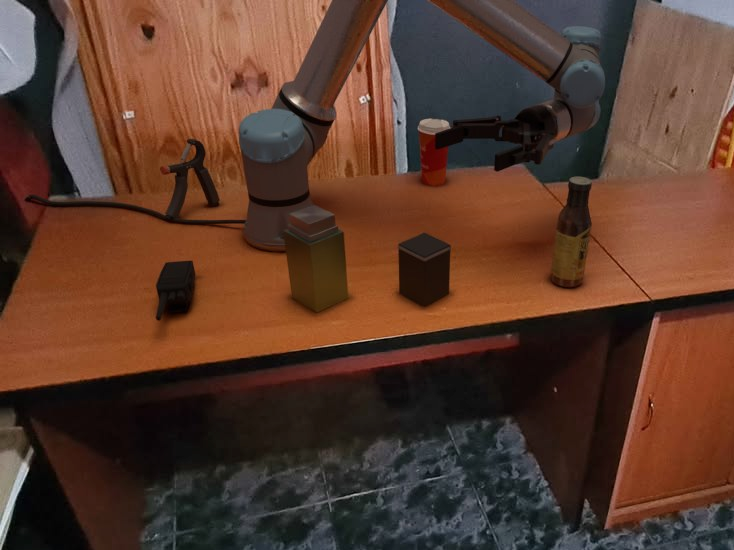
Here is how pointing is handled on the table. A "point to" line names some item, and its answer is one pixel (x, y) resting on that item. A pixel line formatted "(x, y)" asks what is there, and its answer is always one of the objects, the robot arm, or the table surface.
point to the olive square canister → (316, 258)
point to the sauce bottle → (572, 235)
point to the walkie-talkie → (175, 286)
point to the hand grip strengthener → (181, 179)
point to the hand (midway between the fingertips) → (465, 152)
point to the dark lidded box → (424, 269)
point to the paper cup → (432, 152)
